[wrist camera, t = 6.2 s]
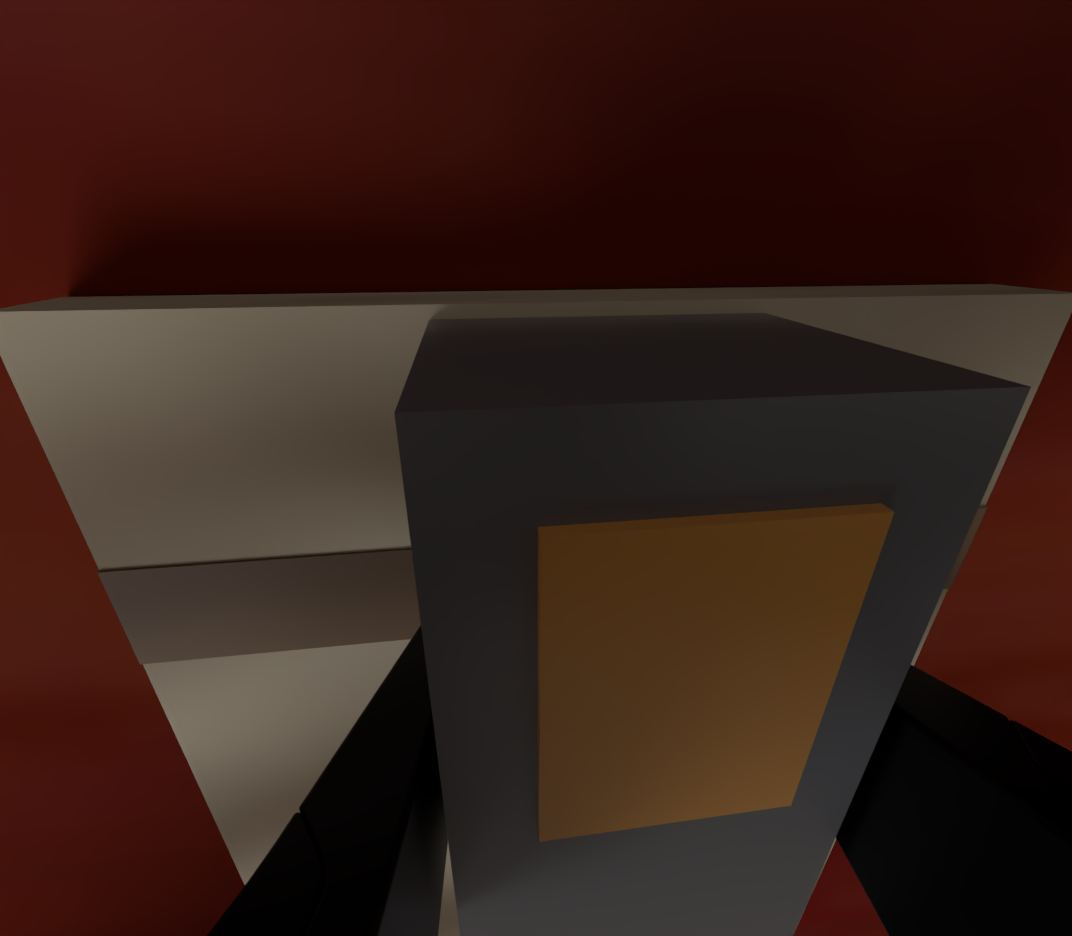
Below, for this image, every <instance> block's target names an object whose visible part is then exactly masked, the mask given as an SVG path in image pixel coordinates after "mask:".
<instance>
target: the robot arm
mask: <svg viewBox="0 0 1072 936" xmlns="http://www.w3.org/2000/svg"><path fill="white" fill-rule="evenodd" d="M299 811H300V813H299V812H296V813H295V814H294V815H293V816H292V818H291V819H290V821H289V822H288V824H287V825H286V827H285V828H284V830H283V831H282V833H281V834H280V836H279V838H278V839H277V841H276V842H275V844H274V845H273V846H272V848H271V849H270V851H269V852H268V854H267V855H266V856H265V858H264V859H263V861H262V862H261V864H260V865H259V866H258V868H257V869H256V871H255V872H254V873H253V875H252V876H251V878H250V879H249V881H248V882H247V883H246V885H245V886H244V888H243V889H242V891H241V892H240V893H239V895H238V896H237V897H236V898H235V900H234V901H233V902H232V904H231V905H230V906H229V908H228V909H227V910H226V911H225V913H224V914H223V915H222V917H221V918H220V919H219V921H218V922H217V923H216V925H215V926H214V927H213V928H212V930H211V931H210V932H209V934H208V935H207V936H438V931H439V921H440V912H441V902H442V893H443V883H444V874H445V864H446V855H447V845H448V836H447V828H446V820H445V812H444V804H443V796H442V788H441V780H440V772H439V764H438V756H437V748H436V741H435V733H434V725H433V717H432V709H431V701H430V693H429V685H428V677H427V669H426V661H425V653H424V645H423V637H422V629H421V625H420V627H419V628H418V630H417V631H416V633H415V634H414V636H413V637H412V639H411V640H410V642H409V643H408V645H407V646H406V648H405V649H404V651H403V652H402V654H401V655H400V657H399V658H398V660H397V661H396V663H395V664H394V666H393V667H392V669H391V670H390V672H389V673H388V675H387V676H386V678H385V679H384V681H383V682H382V684H381V685H380V687H379V688H378V690H377V691H376V693H375V694H374V696H373V697H372V699H371V700H370V702H369V703H368V705H367V706H366V708H365V709H364V711H363V712H362V714H361V715H360V717H359V718H358V720H357V721H356V723H355V724H354V726H353V727H352V729H351V730H350V732H349V733H348V735H347V736H346V738H345V739H344V741H343V742H342V744H341V745H340V747H339V748H338V750H337V751H336V753H335V754H334V756H333V757H332V759H331V760H330V762H329V763H328V765H327V766H326V767H325V769H324V770H323V772H322V773H321V775H320V776H319V778H318V779H317V781H316V782H315V784H314V785H313V787H312V788H311V790H310V791H309V793H308V794H307V796H306V797H305V799H304V800H303V802H302V803H301V805H300V807H299ZM836 839H837V841H838V843H839V844H840V846H841V848H842V850H843V852H844V854H845V855H846V857H847V859H848V861H849V863H850V865H851V867H852V868H853V870H854V872H855V874H856V876H857V878H858V879H859V881H860V883H861V885H862V887H863V889H864V890H865V892H866V894H867V896H868V898H869V900H870V901H871V903H872V905H873V907H874V909H875V911H876V913H877V914H878V916H879V918H880V920H881V922H882V924H883V925H884V927H885V929H886V931H887V933H888V935H889V936H1072V752H1071V751H1070V750H1068V749H1066V748H1064V747H1062V746H1060V745H1058V744H1056V743H1054V742H1053V741H1051V740H1049V739H1047V738H1045V737H1043V736H1041V735H1040V734H1038V733H1036V732H1034V731H1032V730H1030V729H1029V728H1027V727H1025V726H1023V725H1021V724H1020V723H1018V722H1016V721H1014V720H1010V721H1009V720H1008V718H1007V717H1006V716H1005V715H1003V714H1001V713H999V712H997V711H995V710H994V709H992V708H990V707H988V706H986V705H984V704H983V703H981V702H979V701H977V700H975V699H973V698H972V697H970V696H968V695H966V694H964V693H962V692H960V691H959V690H957V689H955V688H953V687H951V686H949V685H948V684H946V683H944V682H942V681H940V680H938V679H937V678H935V677H933V676H931V675H929V674H927V673H926V672H924V671H922V670H920V669H918V668H916V667H915V666H913V665H910V667H909V669H908V672H907V674H906V676H905V679H904V681H903V683H902V686H901V688H900V690H899V693H898V695H897V697H896V699H895V702H894V704H893V706H892V709H891V711H890V713H889V716H888V718H887V720H886V723H885V725H884V727H883V729H882V732H881V734H880V736H879V739H878V741H877V743H876V746H875V748H874V750H873V752H872V755H871V757H870V759H869V762H868V764H867V766H866V769H865V771H864V773H863V776H862V778H861V780H860V782H859V785H858V787H857V789H856V792H855V794H854V796H853V799H852V801H851V803H850V806H849V808H848V810H847V812H846V815H845V817H844V819H843V822H842V824H841V826H840V829H839V831H838V833H837V835H836Z"/></svg>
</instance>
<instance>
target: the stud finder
mask: <svg viewBox="0 0 1072 936" xmlns="http://www.w3.org/2000/svg"><path fill="white" fill-rule="evenodd" d="M1030 388H1031V387H1030V386H1027V385H1023V384H1020V383H1016V382H1012V381H1009V380H1005V379H1002V378H998V377H994V376H991V375H987V374H983V373H980V372H976V371H973V370H969V369H965V368H962V367H958V366H955V365H951V364H947V363H944V362H940V361H937V360H933V359H929V358H926V357H922V356H918V355H915V354H911V353H908V352H904V351H900V350H897V349H893V348H890V347H886V346H882V345H879V344H875V343H871V342H868V341H864V340H861V339H857V338H853V337H850V336H846V335H843V334H839V333H835V332H832V331H828V330H824V329H821V328H817V327H814V326H810V325H806V324H803V323H799V322H796V321H792V320H788V319H785V318H781V317H777V316H774V315H770V314H767V313H733V314H682V315H631V316H581V317H530V318H479V319H429V321H428V324H427V327H426V329H425V332H424V335H423V337H422V340H421V343H420V345H419V348H418V351H417V353H416V356H415V359H414V361H413V364H412V367H411V369H410V372H409V375H408V377H407V380H406V383H405V385H404V388H403V391H402V393H401V396H400V399H399V401H398V404H397V407H396V409H395V412H394V415H395V422H396V430H397V438H398V446H399V454H400V462H401V470H402V478H403V486H404V494H405V502H406V510H407V518H408V526H409V534H410V542H411V550H412V558H413V566H414V574H415V581H416V589H417V597H418V605H419V613H420V621H421V629H422V637H423V645H424V653H425V661H426V669H427V677H428V685H429V693H430V701H431V709H432V717H433V725H434V733H435V741H436V748H437V756H438V764H439V772H440V780H441V788H442V796H443V804H444V812H445V820H446V828H447V836H448V844H449V852H450V860H451V868H452V876H453V884H454V892H455V900H456V908H457V915H458V923H459V931H460V936H793V935H794V932H795V930H796V928H797V925H798V923H799V921H800V918H801V916H802V914H803V912H804V909H805V907H806V905H807V902H808V900H809V898H810V895H811V893H812V891H813V888H814V886H815V884H816V882H817V879H818V877H819V875H820V872H821V870H822V868H823V865H824V863H825V861H826V859H827V856H828V854H829V852H830V849H831V847H832V845H833V842H834V840H835V838H836V835H837V833H838V831H839V829H840V826H841V824H842V822H843V819H844V817H845V815H846V812H847V810H848V808H849V806H850V803H851V801H852V799H853V796H854V794H855V792H856V789H857V787H858V785H859V782H860V780H861V778H862V776H863V773H864V771H865V769H866V766H867V764H868V762H869V759H870V757H871V755H872V752H873V750H874V748H875V746H876V743H877V741H878V739H879V736H880V734H881V732H882V729H883V727H884V725H885V723H886V720H887V718H888V716H889V713H890V711H891V709H892V706H893V704H894V702H895V699H896V697H897V695H898V693H899V690H900V688H901V686H902V683H903V681H904V679H905V676H906V674H907V672H908V669H909V667H910V665H911V663H912V660H913V658H914V656H915V653H916V651H917V649H918V646H919V644H920V642H921V640H922V637H923V635H924V633H925V630H926V628H927V626H928V623H929V621H930V619H931V616H932V614H933V612H934V610H935V607H936V605H937V603H938V600H939V598H940V596H941V593H942V591H943V589H944V586H945V584H946V582H947V580H948V577H949V575H950V573H951V570H952V568H953V566H954V563H955V561H956V559H957V557H958V554H959V552H960V550H961V547H962V545H963V543H964V540H965V538H966V536H967V533H968V531H969V529H970V527H971V524H972V522H973V520H974V517H975V515H976V513H977V510H978V508H979V506H980V503H981V501H982V499H983V497H984V494H985V492H986V490H987V487H988V485H989V483H990V480H991V478H992V476H993V474H994V471H995V469H996V467H997V464H998V462H999V460H1000V457H1001V455H1002V453H1003V450H1004V448H1005V446H1006V444H1007V441H1008V439H1009V437H1010V434H1011V432H1012V430H1013V427H1014V425H1015V423H1016V420H1017V418H1018V416H1019V414H1020V411H1021V409H1022V407H1023V404H1024V402H1025V400H1026V397H1027V395H1028V393H1029V391H1030Z"/></svg>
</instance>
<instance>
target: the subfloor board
mask: <svg viewBox="0 0 1072 936" xmlns="http://www.w3.org/2000/svg"><path fill="white" fill-rule="evenodd" d="M733 313H767V314H770V315H774V316H777V317H781V318H785V319H788V320H792V321H796V322H799V323H803V324H806V325H810V326H814V327H817V328H821V329H824V330H828V331H832V332H835V333H839V334H843V335H846V336H850V337H853V338H857V339H861V340H864V341H868V342H871V343H875V344H879V345H882V346H886V347H890V348H893V349H897V350H900V351H904V352H908V353H911V354H915V355H918V356H922V357H926V358H929V359H933V360H937V361H940V362H944V363H947V364H951V365H955V366H958V367H962V368H965V369H969V370H973V371H976V372H980V373H983V374H987V375H991V376H994V377H998V378H1002V379H1005V380H1009V381H1012V382H1016V383H1020V384H1023V385H1027V386H1030V387H1031V388H1030V391H1029V393H1028V395H1027V397H1026V400H1025V402H1024V404H1023V407H1022V409H1021V411H1020V414H1019V416H1018V418H1017V420H1016V423H1015V425H1014V427H1013V430H1012V432H1011V434H1010V437H1009V439H1008V441H1007V444H1006V446H1005V448H1004V450H1003V453H1002V455H1001V457H1000V460H999V462H998V464H997V467H996V469H995V471H994V474H993V476H992V478H991V480H990V483H989V485H988V487H987V490H986V492H985V494H984V497H983V499H982V501H981V503H980V506H979V508H978V510H977V513H976V515H975V517H974V520H973V522H972V524H971V527H970V529H969V531H968V533H967V536H966V538H965V540H964V543H963V545H962V547H961V550H960V552H959V554H958V557H957V559H956V561H955V563H954V566H953V568H952V570H951V573H950V575H949V577H948V580H947V582H946V584H945V586H944V589H943V591H942V593H941V596H940V598H939V600H938V603H937V605H936V607H935V610H934V612H933V614H932V616H931V619H930V621H929V623H928V626H927V628H926V630H925V633H924V635H923V637H922V640H921V642H920V644H919V646H918V649H917V651H916V653H915V656H914V658H913V660H912V663H911V665H913V666H914V664H915V662H916V660H917V657H918V655H919V653H920V651H921V648H922V646H923V644H924V642H925V639H926V637H927V635H928V633H929V630H930V628H931V626H932V624H933V622H934V619H935V617H936V615H937V613H938V610H939V608H940V606H941V604H942V601H943V599H944V597H945V595H946V592H947V590H948V589H951V587H952V585H953V583H954V581H955V578H956V576H957V574H958V572H959V570H960V567H961V565H962V563H963V561H964V558H965V556H966V554H967V552H968V550H969V547H970V545H971V543H972V541H973V538H974V536H975V534H976V532H977V529H978V527H979V525H980V523H981V521H982V518H983V516H984V514H985V512H986V509H987V507H986V506H985V505H986V503H987V501H988V498H989V496H990V494H991V492H992V490H993V487H994V485H995V483H996V481H997V478H998V476H999V474H1000V472H1001V469H1002V467H1003V465H1004V463H1005V460H1006V458H1007V456H1008V454H1009V452H1010V449H1011V447H1012V445H1013V443H1014V440H1015V438H1016V436H1017V434H1018V431H1019V429H1020V427H1021V425H1022V422H1023V420H1024V418H1025V416H1026V413H1027V411H1028V409H1029V407H1030V405H1031V402H1032V400H1033V398H1034V396H1035V393H1036V391H1037V389H1038V387H1039V384H1040V382H1041V380H1042V378H1043V375H1044V373H1045V371H1046V369H1047V367H1048V364H1049V362H1050V360H1051V358H1052V355H1053V353H1054V351H1055V349H1056V346H1057V344H1058V342H1059V340H1060V337H1061V335H1062V333H1063V331H1064V328H1065V326H1066V324H1067V322H1068V320H1069V317H1070V315H1071V313H1072V292H1063V291H1053V290H1044V289H1035V288H1026V287H1017V286H1008V285H999V284H952V285H880V286H809V287H738V288H666V289H595V290H523V291H452V292H381V293H309V294H238V295H167V296H95V297H61V298H56V299H50V300H45V301H39V302H34V303H28V304H22V305H17V306H11V307H6V308H0V356H1V358H2V360H3V362H4V365H5V367H6V369H7V371H8V373H9V375H10V378H11V380H12V382H13V384H14V386H15V388H16V391H17V393H18V395H19V397H20V399H21V401H22V404H23V406H24V408H25V410H26V412H27V414H28V417H29V419H30V421H31V423H32V425H33V427H34V430H35V432H36V434H37V436H38V438H39V440H40V443H41V445H42V447H43V449H44V451H45V453H46V456H47V458H48V460H49V462H50V464H51V466H52V469H53V471H54V473H55V475H56V477H57V479H58V482H59V484H60V486H61V488H62V490H63V492H64V495H65V497H66V499H67V501H68V503H69V505H70V508H71V510H72V512H73V514H74V516H75V518H76V521H77V523H78V525H79V527H80V529H81V531H82V534H83V536H84V538H85V540H86V542H87V544H88V547H89V549H90V551H91V553H92V555H93V557H94V560H95V562H96V564H97V566H98V568H99V570H100V571H99V572H98V575H99V577H100V579H101V581H102V583H103V585H104V588H105V590H106V592H107V594H108V596H109V598H110V600H111V603H112V605H113V607H114V609H115V611H116V613H117V616H118V618H119V620H120V622H121V624H122V626H123V628H124V631H125V633H126V635H127V637H128V639H129V641H130V643H131V646H132V648H133V650H134V652H135V654H136V656H137V659H138V661H139V663H140V664H143V666H144V668H145V670H146V672H147V675H148V677H149V679H150V681H151V683H152V685H153V688H154V690H155V692H156V694H157V696H158V698H159V701H160V703H161V705H162V707H163V709H164V711H165V714H166V716H167V718H168V720H169V722H170V724H171V727H172V729H173V731H174V733H175V735H176V737H177V740H178V742H179V744H180V746H181V748H182V750H183V753H184V755H185V757H186V759H187V761H188V763H189V766H190V768H191V770H192V772H193V774H194V776H195V779H196V781H197V783H198V785H199V787H200V789H201V792H202V794H203V796H204V798H205V800H206V802H207V805H208V807H209V809H210V811H211V813H212V815H213V818H214V820H215V822H216V824H217V826H218V828H219V831H220V833H221V835H222V837H223V839H224V841H225V844H226V846H227V848H228V850H229V852H230V854H231V857H232V859H233V861H234V863H235V865H236V867H237V870H238V872H239V874H240V876H241V878H242V880H243V883H244V885H246V883H247V882H248V881H249V879H250V878H251V876H252V875H253V873H254V872H255V871H256V869H257V868H258V866H259V865H260V864H261V862H262V861H263V859H264V858H265V856H266V855H267V854H268V852H269V851H270V849H271V848H272V846H273V845H274V844H275V842H276V841H277V839H278V838H279V836H280V834H281V833H282V831H283V830H284V828H285V827H286V825H287V824H288V822H289V821H290V819H291V818H292V816H293V815H294V814H295V813H296V812H299V813H300V811H299V807H300V805H301V803H302V802H303V800H304V799H305V797H306V796H307V794H308V793H309V791H310V790H311V788H312V787H313V785H314V784H315V782H316V781H317V779H318V778H319V776H320V775H321V773H322V772H323V770H324V769H325V767H326V766H327V765H328V763H329V762H330V760H331V759H332V757H333V756H334V754H335V753H336V751H337V750H338V748H339V747H340V745H341V744H342V742H343V741H344V739H345V738H346V736H347V735H348V733H349V732H350V730H351V729H352V727H353V726H354V724H355V723H356V721H357V720H358V718H359V717H360V715H361V714H362V712H363V711H364V709H365V708H366V706H367V705H368V703H369V702H370V700H371V699H372V697H373V696H374V694H375V693H376V691H377V690H378V688H379V687H380V685H381V684H382V682H383V681H384V679H385V678H386V676H387V675H388V673H389V672H390V670H391V669H392V667H393V666H394V664H395V663H396V661H397V660H398V658H399V657H400V655H401V654H402V652H403V651H404V649H405V648H406V646H407V645H408V643H409V642H410V640H411V639H412V637H413V636H414V634H415V633H416V631H417V630H418V628H419V627H420V625H421V621H420V613H419V605H418V597H417V589H416V581H415V574H414V566H413V558H412V550H411V542H410V534H409V526H408V518H407V510H406V502H405V494H404V486H403V478H402V470H401V462H400V454H399V446H398V438H397V430H396V422H395V415H394V412H395V409H396V407H397V404H398V401H399V399H400V396H401V393H402V391H403V388H404V385H405V383H406V380H407V377H408V375H409V372H410V369H411V367H412V364H413V361H414V359H415V356H416V353H417V351H418V348H419V345H420V343H421V340H422V337H423V335H424V332H425V329H426V327H427V324H428V321H429V319H479V318H530V317H581V316H631V315H682V314H733ZM835 841H836V838H835V840H834V842H833V845H834V843H835ZM833 845H832V847H833ZM832 847H831V849H830V852H831V850H832ZM830 852H829V854H830ZM829 854H828V856H829ZM828 856H827V859H828ZM827 859H826V861H827ZM826 861H825V863H826ZM825 863H824V865H825ZM824 865H823V868H824ZM823 868H822V870H823ZM822 870H821V872H822ZM821 872H820V874H821ZM819 877H820V875H819ZM819 877H818V879H819ZM818 879H817V881H818ZM816 883H817V882H816ZM815 885H816V884H815ZM814 888H815V886H814ZM814 888H813V890H814ZM812 892H813V891H812ZM811 894H812V893H811ZM810 897H811V895H810ZM809 899H810V898H809ZM808 901H809V900H808ZM807 903H808V902H807ZM806 906H807V905H806ZM805 908H806V907H805ZM804 910H805V909H804ZM802 915H803V914H802ZM801 917H802V916H801ZM800 919H801V918H800ZM798 924H799V923H798ZM797 926H798V925H797ZM438 936H460V931H459V923H458V915H457V908H456V900H455V892H454V884H453V876H452V868H451V860H450V852H449V844H448V845H447V855H446V864H445V874H444V883H443V893H442V902H441V912H440V921H439V931H438Z"/></svg>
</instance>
